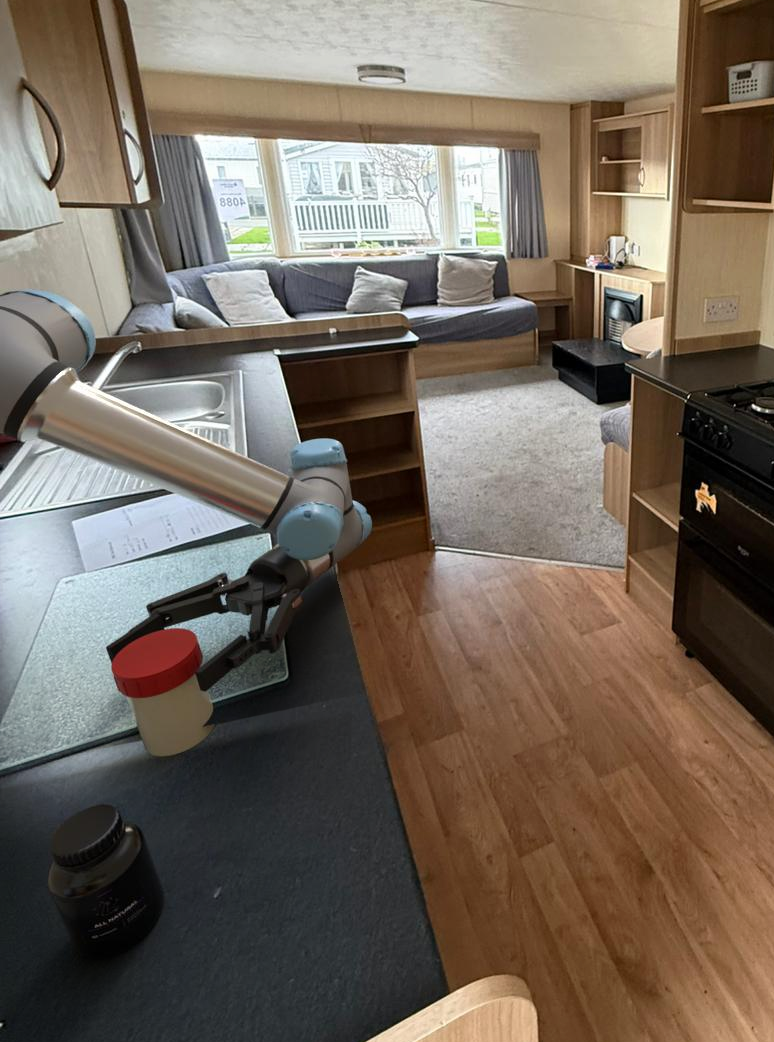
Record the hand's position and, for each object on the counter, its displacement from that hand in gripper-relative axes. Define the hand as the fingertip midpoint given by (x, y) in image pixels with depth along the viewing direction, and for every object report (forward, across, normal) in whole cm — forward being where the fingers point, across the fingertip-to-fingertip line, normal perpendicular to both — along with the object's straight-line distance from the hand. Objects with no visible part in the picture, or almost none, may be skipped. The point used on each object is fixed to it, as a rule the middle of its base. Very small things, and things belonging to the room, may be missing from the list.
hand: (154, 669), depth 75 cm
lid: (-1, 0, +2) cm, 2 cm away
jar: (-1, 0, -10) cm, 10 cm away
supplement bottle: (+18, -14, -10) cm, 25 cm away
